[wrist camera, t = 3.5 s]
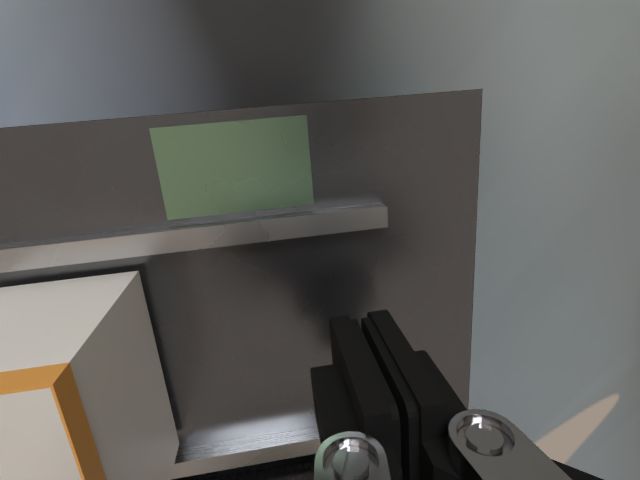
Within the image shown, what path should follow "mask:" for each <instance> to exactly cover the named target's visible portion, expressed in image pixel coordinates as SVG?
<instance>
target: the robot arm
mask: <svg viewBox="0 0 640 480" xmlns="http://www.w3.org/2000/svg"><path fill="white" fill-rule="evenodd" d="M329 328H330V339H331V351H332V363H333V364H331V365H325V366H318V367H312V368H310V374H311V384H312V393H313V401H314V408H315V415H316V421H317V427H318V432H319V438H320V443H321V445H320V447H319V448H318V450H317V451H316V456H315V460H314V480H603V479H601V478H598V477H595V476H593V475H590V474H588V473H585V472H583V471H580V470H578V469H575V468H572V467H570V466H567V465H565V464H562V463H560V462H557V461H554V460H552V459H550V458H549V457H548V456H547V455H546V454H544V452H543V451H541V450H540V449H539V448H538V447H537V446H536V445H535V444H534V443H533V442H532V441H531V440H530V439H529V438H528V437H527V436H526V435H525V434H524V433H523V432H522V431H521V430H520V429H518V428H517V427H516V426H515V425H514V424H513V423H512V422H510V421H509V420H508V419H506V418H505V417H503V416H501V415H499V414H497V413H494V412H491V411H487V410H480V409H471V410H467V409H466V407H465V406H464V404H463V403H462V402H461V400H460V399H459V397H458V396H457V394H456V393H455V392H454V390H453V389H452V387H451V386H450V384H449V383H448V382H447V380H446V379H445V377H444V376H443V374H442V373H441V372H440V370H439V369H438V367H437V366H436V364H435V363H434V362H433V360H432V359H431V357H430V356H429V354H428V353H427V352H426V351H424V350H419V351H414V350H413V348H412V347H411V345H410V344H409V342H408V341H407V339H406V337H405V336H404V334H403V333H402V331H401V330H400V328H399V327H398V325H397V324H396V322H395V321H394V319H393V317H392V316H391V314H390V313H389V311H388V310H387V309H386V310H379V311H372V312H368V313H367V317H365V318H361V327H360V325H359V323H358V321H357V319H352V320H351V319H350V317H349V315H344V316H337V317H330V318H329Z"/></svg>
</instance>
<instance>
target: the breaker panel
mask: <svg viewBox="0 0 640 480" xmlns="http://www.w3.org/2000/svg"><path fill="white" fill-rule="evenodd" d="M481 110H482V89H475V90H463V91H450V92H438V93H426V94H413V95H401V96H389V97H376V98H364V99H352V100H339V101H327V102H314V103H302V104H290V105H277V106H265V107H253V108H240V109H228V110H216V111H203V112H191V113H179V114H166V115H154V116H141V117H129V118H117V119H104V120H92V121H80V122H67V123H55V124H43V125H30V126H18V127H6V128H0V288H1V287H9V286H17V285H25V284H34V283H42V282H50V281H58V280H66V279H75V278H83V277H91V276H99V275H107V274H116V273H124V272H132V271H139V274H140V278H141V282H142V287H143V291H144V295H145V299H146V304H147V308H148V312H149V316H150V321H151V325H152V329H153V333H154V338H155V342H156V346H157V350H158V355H159V359H160V363H161V367H162V372H163V376H164V380H165V384H166V389H167V393H168V397H169V401H170V405H171V410H172V414H173V418H174V422H175V427H176V431H177V435H178V439H179V447H178V451H177V455H176V459H175V463H174V467H173V472H172V476H171V480H314V460H315V456H316V451H317V450H318V448H319V447H320V445H321V443H320V438H319V432H318V427H317V421H316V415H315V408H314V401H313V393H312V384H311V374H310V368H312V367H318V366H325V365H331V364H333V363H332V351H331V339H330V328H329V318H330V317H337V316H344V315H349V317H350V319H351V320H352V319H357V321H358V323H359V325H360V327H361V318H365V317H367V313H368V312H372V311H379V310H386V309H387V310H388V311H389V313H390V314H391V316H392V317H393V319H394V321H395V322H396V324H397V325H398V327H399V328H400V330H401V331H402V333H403V334H404V336H405V337H406V339H407V341H408V342H409V344H410V345H411V347H412V348H413V350H414V351H419V350H424V351H426V352H427V353H428V354H429V356H430V357H431V359H432V360H433V362H434V363H435V364H436V366H437V367H438V369H439V370H440V372H441V373H442V374H443V376H444V377H445V379H446V380H447V382H448V383H449V384H450V386H451V387H452V389H453V390H454V392H455V393H456V394H457V396H458V397H459V399H460V400H461V402H462V403H463V404H464V406H465V407H466V409H467V410H468V402H469V379H470V357H471V334H472V312H473V290H474V267H475V245H476V222H477V200H478V177H479V155H480V132H481Z"/></svg>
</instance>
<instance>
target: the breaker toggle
mask: <svg viewBox="0 0 640 480" xmlns="http://www.w3.org/2000/svg"><path fill="white" fill-rule="evenodd" d="M178 447H179V439H178V435H177V431H176V427H175V422H174V418H173V414H172V410H171V405H170V401H169V397H168V393H167V389H166V384H165V380H164V376H163V372H162V367H161V363H160V359H159V355H158V350H157V346H156V342H155V338H154V333H153V329H152V325H151V321H150V316H149V312H148V308H147V304H146V299H145V295H144V291H143V287H142V282H141V278H140V274H139V271H132V272H124V273H116V274H107V275H99V276H91V277H83V278H75V279H66V280H58V281H50V282H42V283H34V284H25V285H17V286H9V287H1V288H0V480H171V476H172V472H173V467H174V463H175V459H176V455H177V451H178Z"/></svg>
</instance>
